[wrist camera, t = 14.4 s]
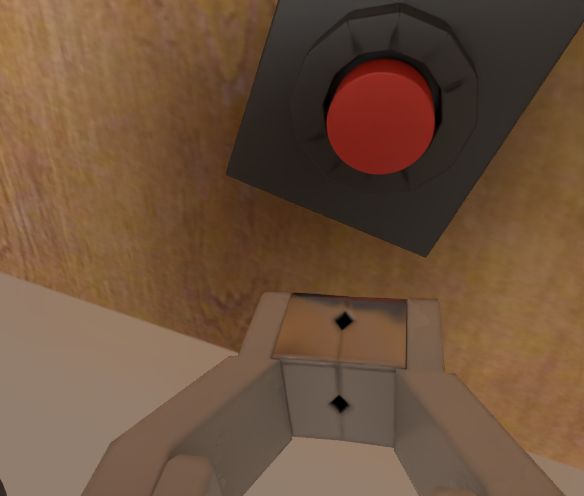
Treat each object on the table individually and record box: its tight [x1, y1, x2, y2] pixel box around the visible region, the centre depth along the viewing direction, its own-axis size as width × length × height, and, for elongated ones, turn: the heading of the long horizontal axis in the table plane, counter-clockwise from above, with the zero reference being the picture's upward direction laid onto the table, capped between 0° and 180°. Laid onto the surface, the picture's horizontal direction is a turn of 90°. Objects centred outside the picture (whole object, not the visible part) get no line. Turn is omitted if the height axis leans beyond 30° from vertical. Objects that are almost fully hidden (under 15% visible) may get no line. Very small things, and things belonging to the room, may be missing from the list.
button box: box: [226, 0, 584, 257], centre depth 19 cm, size 12×10×4 cm
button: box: [327, 58, 435, 174], centre depth 17 cm, size 4×4×2 cm
